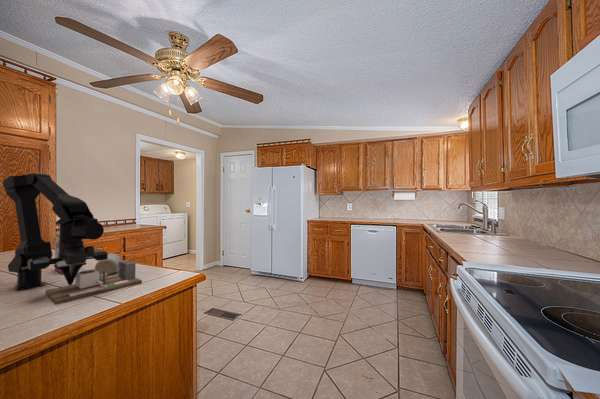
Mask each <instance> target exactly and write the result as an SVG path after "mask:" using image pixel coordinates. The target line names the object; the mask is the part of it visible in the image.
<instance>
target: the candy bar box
mask: <svg viewBox="0 0 600 399" xmlns="http://www.w3.org/2000/svg"><path fill="white" fill-rule="evenodd" d="M54 258H59V232H54ZM69 266H70V268H71V265H69ZM54 271H56V272H57V273H59V274H62V276H64V274H63V273H62V271H61V270H60V269H57V268H55V267H54Z"/></svg>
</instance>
